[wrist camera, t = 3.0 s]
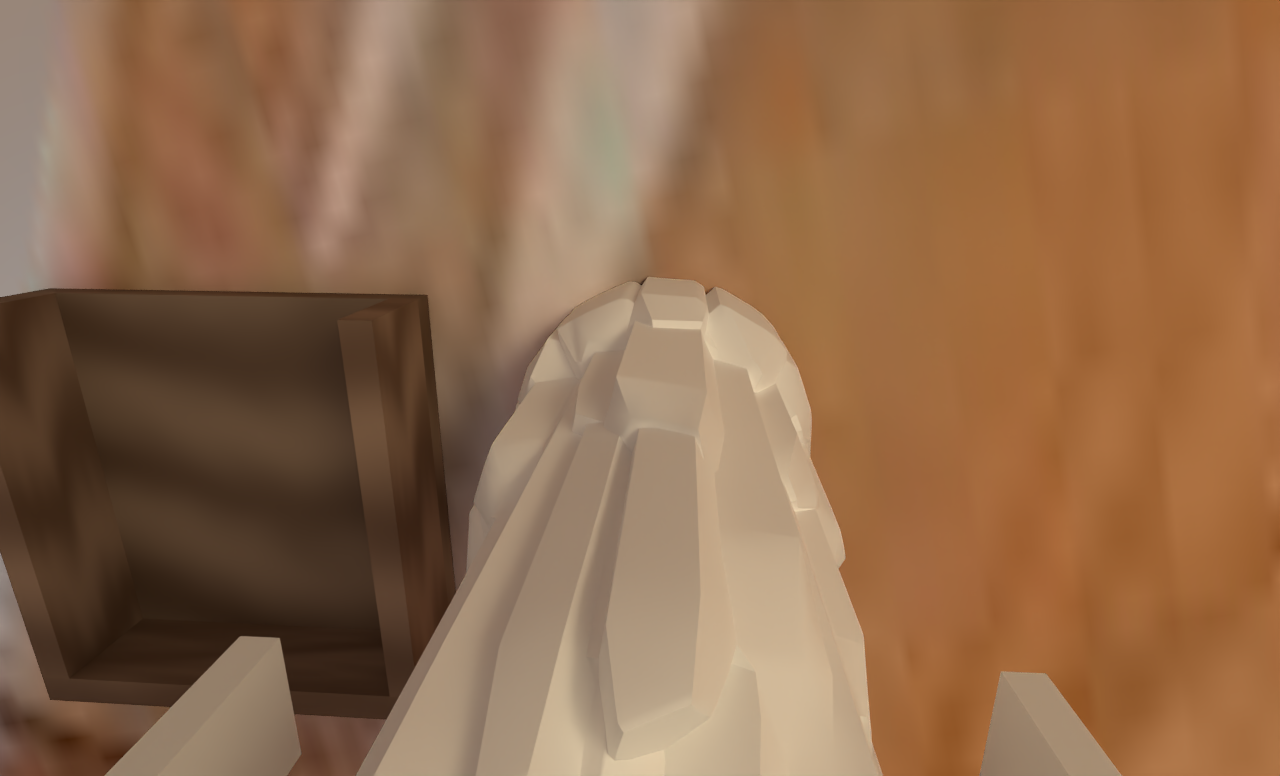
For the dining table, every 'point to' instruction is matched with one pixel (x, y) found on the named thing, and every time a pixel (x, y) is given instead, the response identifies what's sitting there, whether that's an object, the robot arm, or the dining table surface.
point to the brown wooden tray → (223, 489)
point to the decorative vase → (646, 567)
